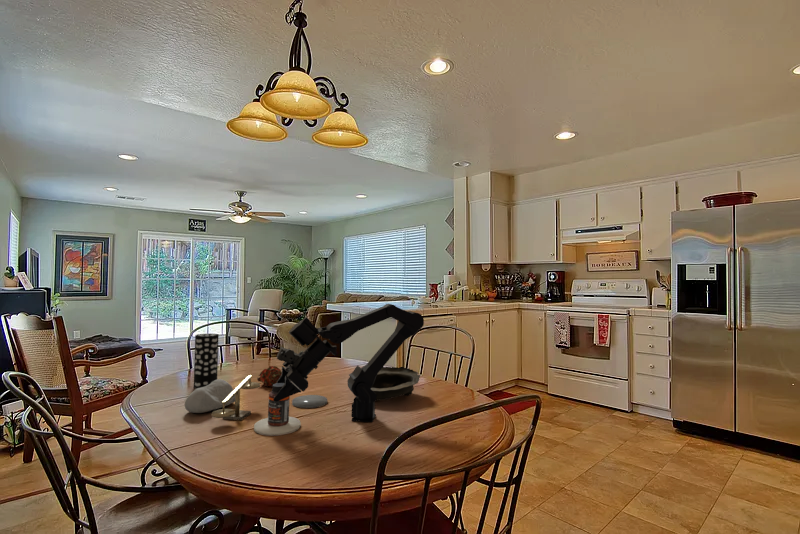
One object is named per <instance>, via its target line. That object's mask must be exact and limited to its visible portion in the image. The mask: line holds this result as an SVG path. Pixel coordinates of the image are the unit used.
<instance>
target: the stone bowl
mask: <svg viewBox="0 0 800 534" xmlns="http://www.w3.org/2000/svg"><path fill="white" fill-rule="evenodd" d="M420 377H421V374H419V373H418V372H417V371H415V370H413V369H411V368H410V367H409V368H407V367H404V366H400V367H394V366H392V367H391V366H383V368H382V369H381V370H380V371H379V372H378V374H377V376H376V378H375V381H374V384H373V386H372V387H371V390H373V391H374V392H375V393H376V394H377V398H376V401H379V400H381V401H382V400H389V399H393V398H397V397H400V396H406V397H408V396H412V394H413V391H414V389H415V388H414V386H415V385H417V384H418V383H419V380H420ZM376 401H375V402H376Z"/></svg>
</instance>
